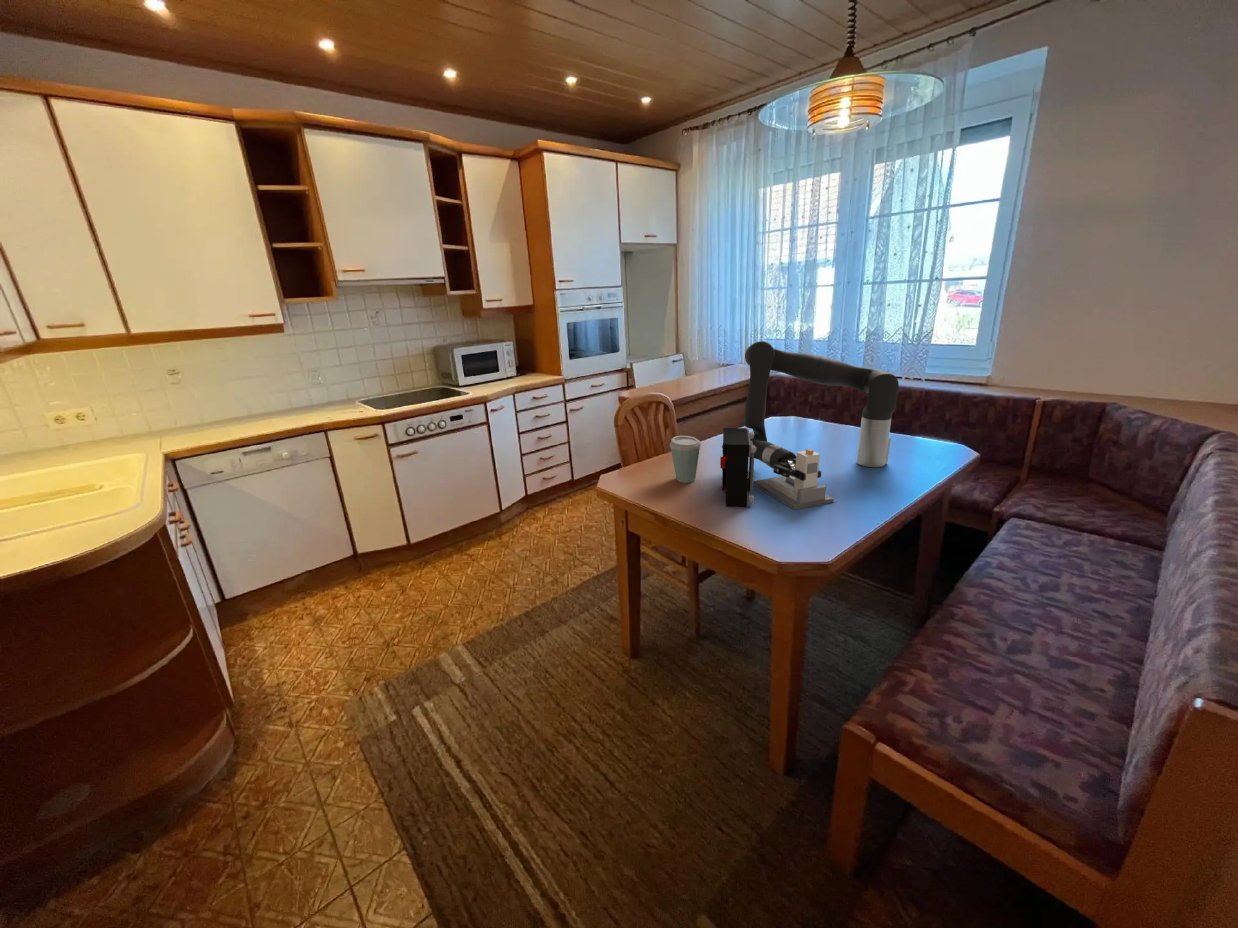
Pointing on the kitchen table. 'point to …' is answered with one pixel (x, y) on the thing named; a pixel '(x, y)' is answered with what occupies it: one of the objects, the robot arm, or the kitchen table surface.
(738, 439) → the electrical component
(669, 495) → the kitchen table surface
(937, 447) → the kitchen table surface
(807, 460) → the block
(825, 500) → the panel
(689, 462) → the disposable coffee cup
